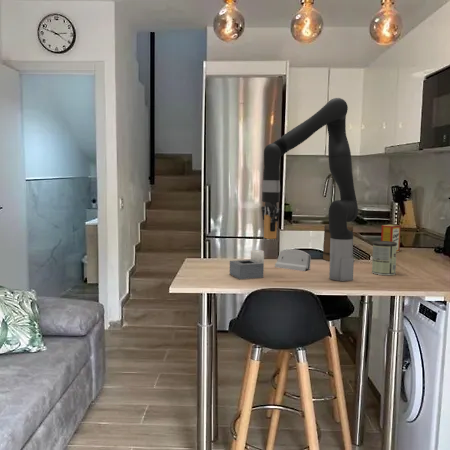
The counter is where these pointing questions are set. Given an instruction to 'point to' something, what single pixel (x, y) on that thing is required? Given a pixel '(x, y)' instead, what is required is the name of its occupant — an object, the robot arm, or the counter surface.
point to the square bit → (267, 232)
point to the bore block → (246, 269)
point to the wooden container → (327, 241)
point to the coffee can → (384, 258)
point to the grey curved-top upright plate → (293, 260)
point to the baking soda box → (391, 234)
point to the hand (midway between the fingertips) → (270, 230)
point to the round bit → (257, 255)
